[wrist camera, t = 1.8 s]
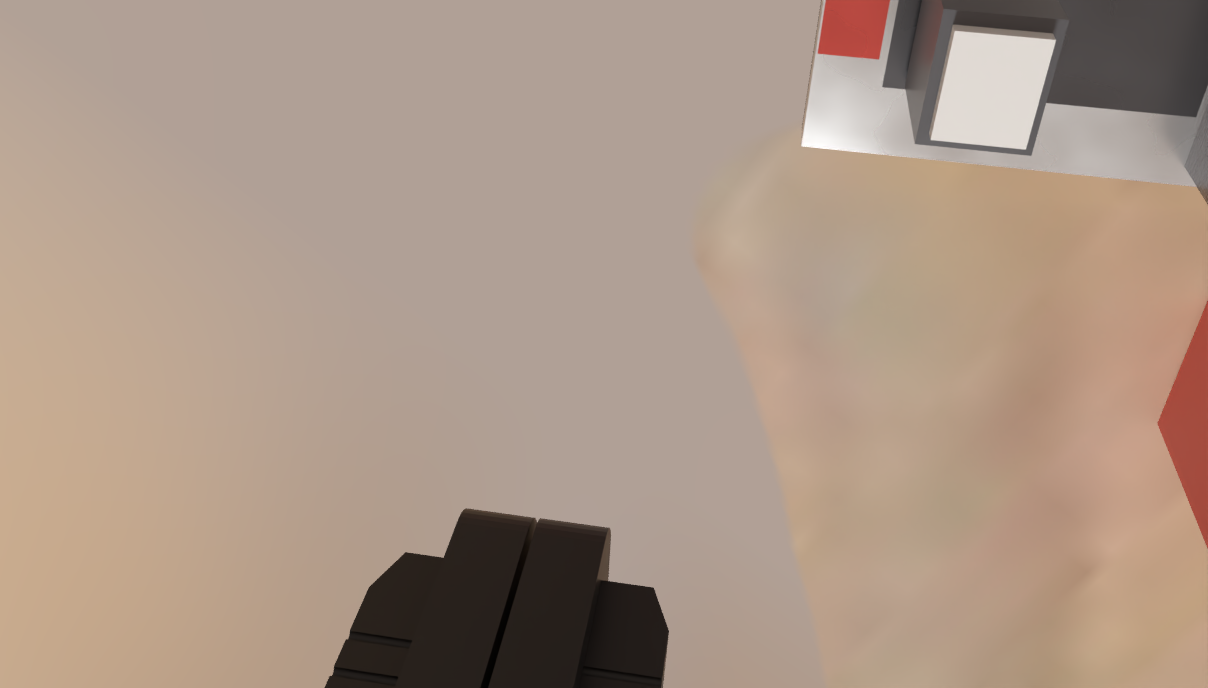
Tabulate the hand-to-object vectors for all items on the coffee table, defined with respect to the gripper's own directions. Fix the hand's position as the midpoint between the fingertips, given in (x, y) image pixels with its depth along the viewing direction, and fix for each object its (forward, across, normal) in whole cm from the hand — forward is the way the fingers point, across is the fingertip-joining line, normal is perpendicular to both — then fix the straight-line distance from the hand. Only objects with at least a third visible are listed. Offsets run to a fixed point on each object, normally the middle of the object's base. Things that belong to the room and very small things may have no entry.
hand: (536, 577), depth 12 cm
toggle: (+19, -6, 0) cm, 20 cm away
